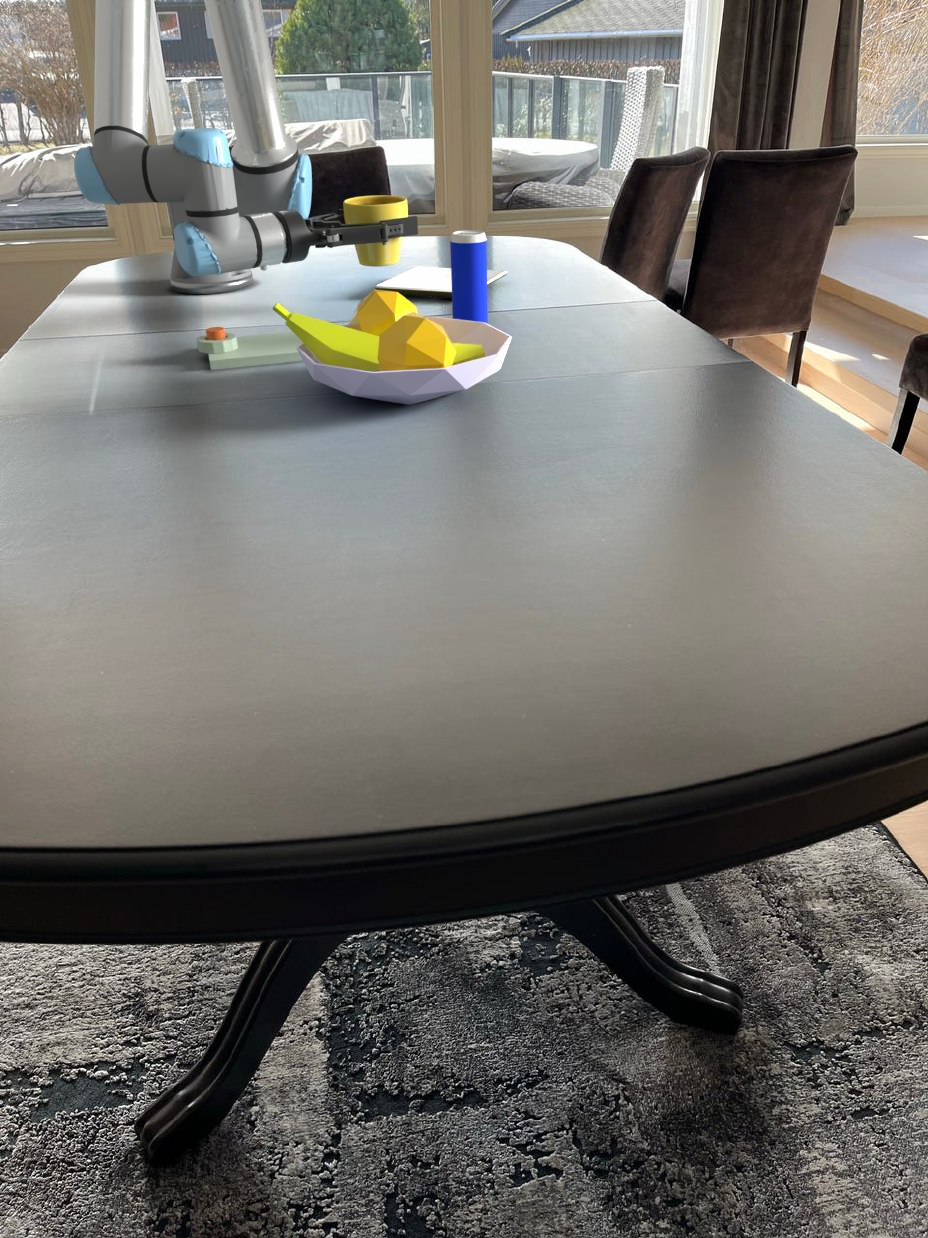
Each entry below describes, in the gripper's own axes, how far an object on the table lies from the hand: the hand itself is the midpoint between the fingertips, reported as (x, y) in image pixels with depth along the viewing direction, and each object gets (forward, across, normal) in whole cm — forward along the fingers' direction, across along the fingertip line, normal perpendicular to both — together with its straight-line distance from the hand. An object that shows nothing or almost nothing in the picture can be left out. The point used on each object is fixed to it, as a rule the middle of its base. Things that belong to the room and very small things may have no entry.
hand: (398, 221), depth 156 cm
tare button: (-39, +12, -10) cm, 42 cm away
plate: (+11, -4, -13) cm, 18 cm away
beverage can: (-6, +28, -13) cm, 32 cm away
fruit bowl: (-27, +41, -13) cm, 51 cm away
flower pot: (-4, 0, -6) cm, 7 cm away
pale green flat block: (-33, +14, -13) cm, 38 cm away
